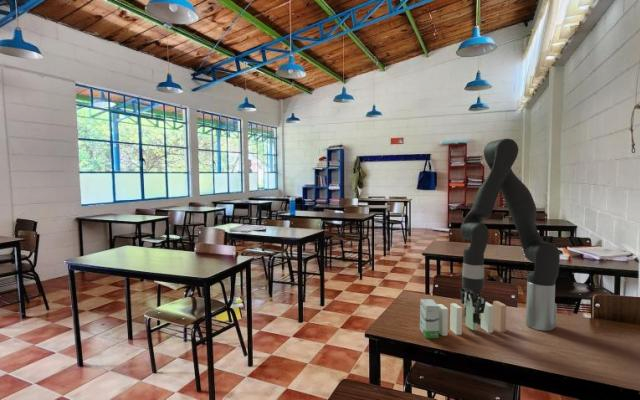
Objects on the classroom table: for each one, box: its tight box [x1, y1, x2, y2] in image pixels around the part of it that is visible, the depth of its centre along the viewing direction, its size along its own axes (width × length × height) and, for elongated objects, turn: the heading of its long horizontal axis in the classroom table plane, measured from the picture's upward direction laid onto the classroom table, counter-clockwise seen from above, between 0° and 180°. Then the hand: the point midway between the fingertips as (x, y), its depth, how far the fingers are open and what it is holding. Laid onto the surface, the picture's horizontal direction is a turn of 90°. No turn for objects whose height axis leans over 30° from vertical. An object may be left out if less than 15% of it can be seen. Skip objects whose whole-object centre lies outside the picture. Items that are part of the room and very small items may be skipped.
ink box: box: [419, 298, 440, 339], centre depth 135 cm, size 9×5×12 cm, turn 179°
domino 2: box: [449, 302, 463, 336], centre depth 137 cm, size 2×5×10 cm, turn 8°
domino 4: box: [480, 301, 494, 334], centre depth 139 cm, size 2×5×10 cm, turn 8°
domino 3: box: [465, 299, 479, 331], centre depth 138 cm, size 2×5×10 cm, turn 8°
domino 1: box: [436, 303, 449, 336], centre depth 136 cm, size 2×5×10 cm, turn 8°
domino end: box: [492, 300, 507, 333], centre depth 139 cm, size 2×5×10 cm, turn 8°
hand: (471, 319), depth 138 cm, fingers closed on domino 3, 5 cm apart
